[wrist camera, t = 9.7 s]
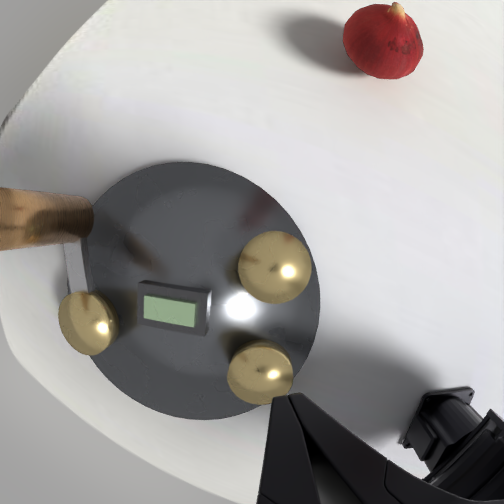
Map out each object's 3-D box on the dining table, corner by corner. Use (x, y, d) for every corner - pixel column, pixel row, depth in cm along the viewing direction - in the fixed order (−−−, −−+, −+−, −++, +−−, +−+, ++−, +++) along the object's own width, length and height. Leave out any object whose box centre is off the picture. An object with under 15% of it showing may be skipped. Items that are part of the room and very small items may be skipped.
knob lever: (125, 348, 21) (19, 436, 8) (79, 346, 21) (-26, 413, 9) (100, 190, 20) (-39, 168, 7) (55, 203, 20) (-72, 196, 8)
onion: (411, 65, 18) (452, 16, 11) (386, 108, 19) (431, 61, 11) (353, 28, 19) (376, -31, 11) (322, 67, 19) (340, 4, 11)
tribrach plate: (333, 179, 20) (343, 172, 17) (293, 426, 22) (295, 447, 19) (84, 163, 21) (63, 157, 18) (83, 380, 23) (66, 394, 20)
